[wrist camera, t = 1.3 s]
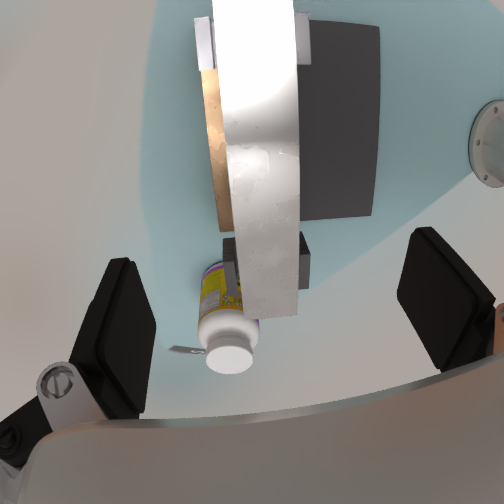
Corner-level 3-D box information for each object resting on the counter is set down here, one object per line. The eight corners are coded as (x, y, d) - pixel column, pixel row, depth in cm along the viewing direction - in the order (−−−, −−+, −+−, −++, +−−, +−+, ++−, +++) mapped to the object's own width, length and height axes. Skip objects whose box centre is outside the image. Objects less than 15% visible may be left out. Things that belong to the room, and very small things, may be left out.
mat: (376, 27, 24) (379, 26, 24) (369, 213, 37) (371, 215, 36) (284, 20, 24) (286, 19, 24) (292, 219, 36) (292, 221, 36)
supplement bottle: (264, 282, 41) (276, 363, 31) (224, 307, 43) (226, 386, 33) (231, 249, 38) (234, 330, 28) (190, 277, 40) (181, 358, 29)
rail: (280, -2, 15) (291, -14, 12) (289, 285, 27) (297, 314, 24) (214, 1, 14) (211, -12, 12) (242, 290, 27) (244, 320, 24)
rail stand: (282, 20, 24) (322, -8, 13) (290, 219, 36) (318, 300, 25) (198, 26, 24) (175, -1, 13) (220, 225, 36) (218, 310, 25)
